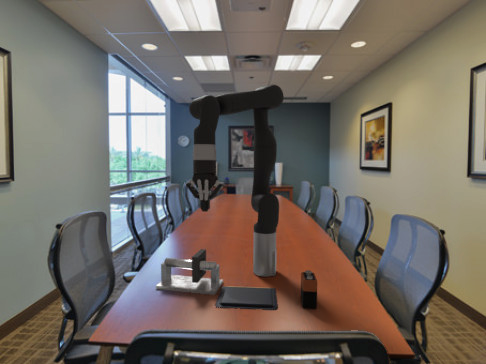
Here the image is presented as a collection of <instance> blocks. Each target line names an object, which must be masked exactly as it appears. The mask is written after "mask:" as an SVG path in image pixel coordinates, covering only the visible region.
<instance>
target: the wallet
mask: <svg viewBox="0 0 486 364" xmlns="http://www.w3.org/2000/svg"><path fill="white" fill-rule="evenodd" d="M276 294H277V289H276V288H274V287H273V288H272V287H259V286H258V287H254V286H234V285H233V286H232V285H231V286H230V285H226V286H225V285H224V286H222V285H221V287H220V289H219V292H218V296H217V299H216V301H215V305H214V307H215V306H216V307H215V309H230V308H235V309H234V310H237V308H240V310H256V309H262V311H277V310H278V309H279V303H278V296H277V295H276ZM277 303H278V304H277ZM217 307H218V308H217ZM219 307H220V308H219Z"/></svg>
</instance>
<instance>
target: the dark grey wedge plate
mask: <svg viewBox="0 0 486 364" xmlns="http://www.w3.org/2000/svg"><path fill="white" fill-rule="evenodd" d="M191 260H192V269H191V277H192V282H194V283H198V282H199V281H200V279H201V278H204V276H205V275H206V273H207V271H206V270H200V261H207V249H206V248H201V249H200V250H198V251H197V252H196V253H195V254H194V255H193V256H191Z"/></svg>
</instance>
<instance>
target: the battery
mask: <svg viewBox="0 0 486 364" xmlns="http://www.w3.org/2000/svg"><path fill="white" fill-rule="evenodd" d="M300 299H301V301H300V302H301V306H302V308H303V309H310V310H317V307H318V280H317V277H316V273H314V272H313V271H311V270H307V269H306V270H305V271H302V272H301V273H300Z"/></svg>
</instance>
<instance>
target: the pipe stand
mask: <svg viewBox="0 0 486 364" xmlns="http://www.w3.org/2000/svg"><path fill="white" fill-rule="evenodd" d="M172 268H173V269H174V268H175V269H184V270H192V259H187V258H186V259H184V258H183V259H182V258H173V257H166V258H165V259H164V261H163V262H162V263H161V264H160V269H161V270H160V278H161V279H160V280H161V281H160V282H158V283H157V284H156V285H155V290H161V291H172V292H179V293H181V292H182V293H189V292H191V293H192V294H199V293H200V294H202V295H208V294H209V295H210V296H211V295H212V296H216V295H215V294H217V293H218V291H220V289H221V288H222V285H223V283H224V279H220V273H221V272H220V269H221V268H220V264H217V261H209V260H206V261H200V270H206V272H207V271H208V272H209V271H210V277H202V278H201V279H200V281H199V282H198V283H194V282H192V276H190V275H188V276H186V275H180V274H179V275H178V274H172Z"/></svg>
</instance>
